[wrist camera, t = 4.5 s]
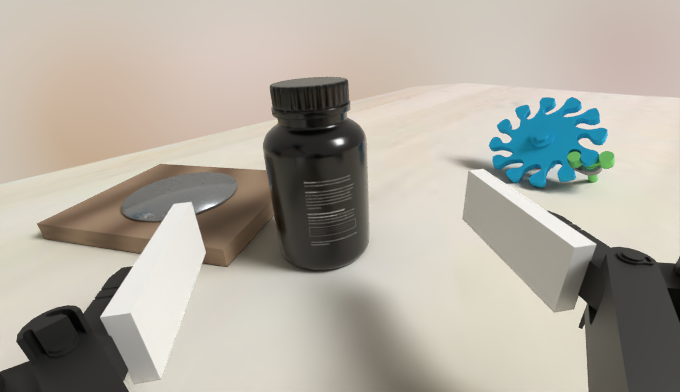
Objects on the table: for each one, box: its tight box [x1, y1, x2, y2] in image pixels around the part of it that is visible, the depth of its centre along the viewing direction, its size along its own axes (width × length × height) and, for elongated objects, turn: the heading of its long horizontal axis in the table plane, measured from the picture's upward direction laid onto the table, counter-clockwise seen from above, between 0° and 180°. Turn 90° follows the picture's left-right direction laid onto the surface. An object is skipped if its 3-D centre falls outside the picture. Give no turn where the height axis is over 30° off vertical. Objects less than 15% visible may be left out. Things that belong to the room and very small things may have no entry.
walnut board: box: [37, 164, 274, 267], centre depth 32 cm, size 18×14×2 cm
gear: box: [489, 97, 614, 188], centre depth 34 cm, size 11×6×10 cm
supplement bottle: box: [263, 77, 369, 270], centre depth 23 cm, size 7×7×12 cm
